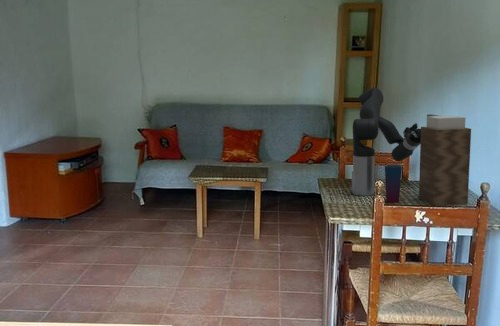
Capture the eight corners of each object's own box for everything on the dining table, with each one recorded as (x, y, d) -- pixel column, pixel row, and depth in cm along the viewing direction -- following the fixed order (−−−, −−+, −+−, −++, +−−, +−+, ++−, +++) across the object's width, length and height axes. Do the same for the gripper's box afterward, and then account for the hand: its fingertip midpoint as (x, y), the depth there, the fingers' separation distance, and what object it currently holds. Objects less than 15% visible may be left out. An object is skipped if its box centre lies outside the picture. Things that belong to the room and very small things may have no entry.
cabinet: (432, 205, 183) (435, 130, 178) (418, 197, 197) (420, 126, 192) (467, 204, 184) (471, 128, 179) (451, 195, 198) (454, 125, 192)
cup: (404, 202, 190) (405, 166, 187) (390, 204, 188) (390, 167, 185) (394, 198, 196) (395, 163, 193) (380, 200, 194) (381, 165, 192)
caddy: (437, 133, 180) (438, 118, 179) (416, 128, 201) (417, 114, 200) (464, 132, 180) (465, 117, 179) (441, 127, 201) (441, 113, 200)
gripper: (397, 132, 220) (408, 117, 205) (426, 131, 220) (440, 116, 205) (399, 147, 217) (411, 133, 202) (429, 146, 218) (443, 131, 203)
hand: (426, 124), depth 204 cm, fingers open, 8 cm apart
